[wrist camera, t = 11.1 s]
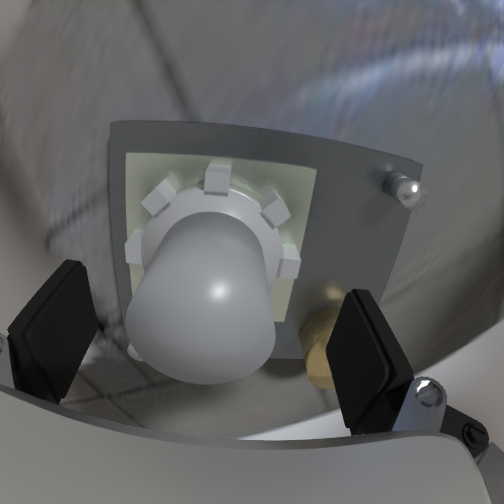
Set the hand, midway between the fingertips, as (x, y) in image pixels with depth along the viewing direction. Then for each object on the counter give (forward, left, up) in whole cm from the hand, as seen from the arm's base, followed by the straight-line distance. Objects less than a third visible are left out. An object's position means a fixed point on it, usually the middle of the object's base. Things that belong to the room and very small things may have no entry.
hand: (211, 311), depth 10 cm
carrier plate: (-2, +1, -7) cm, 7 cm away
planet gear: (0, 0, -5) cm, 5 cm away
